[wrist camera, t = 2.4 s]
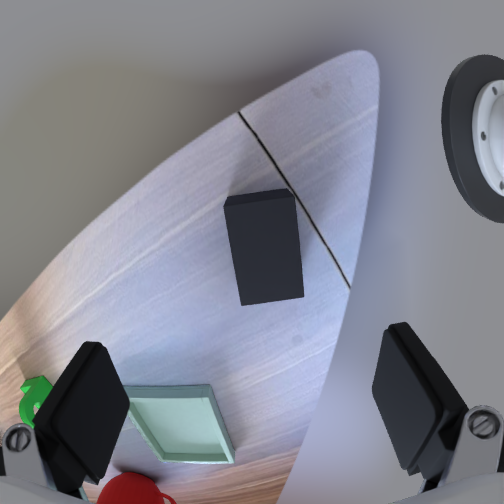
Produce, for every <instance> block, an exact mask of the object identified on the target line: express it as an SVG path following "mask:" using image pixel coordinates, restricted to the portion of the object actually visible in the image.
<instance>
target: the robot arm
mask: <svg viewBox="0 0 504 504" xmlns="http://www.w3.org/2000/svg"><path fill="white" fill-rule="evenodd" d="M472 133H473V143H474V149H475V153H476V157H477V161H478V164H479V167H480V169H481V172H482V174H483V176H484V178H485V179H486V181H487V183H488V184H489V185H490V187H491V188H492V189H493V190H494V191H495V192H496V193H498V194H499V195H501V196H504V80H495V81H491V82H489V83H487V84H486V85H485V86H483V87H482V89H481V90H480V92H479V93H478V95H477V98H476V101H475V104H474V110H473V117H472ZM372 394H373V397H374V399H375V402H376V404H377V406H378V409H379V411H380V414H381V416H382V419H383V421H384V424H385V426H386V429H387V432H388V434H389V437H390V439H391V442H392V444H393V447H394V450H395V452H396V455H397V458H398V460H399V463H400V466H401V468H402V469H403V470H406V469H407V471H408V474H409V476H411V475H413V474H416V473H419V472H421V473H422V476H423V478H424V481H423V483H422V485H421V487H420V490H419V492H418V494H417V495H415V496H413V497H409V498H406V499H403V500H400V501H397V502H393V503H390V504H504V420H503V418H502V416H501V414H500V413H499V412H498V411H497V410H495V409H494V408H492V407H489V406H483V405H480V406H475V407H474V408H472V409H470V410H469V409H468V407H467V405H466V404H465V402H464V401H463V399H462V398H461V396H460V395H459V393H458V392H457V390H456V389H455V387H454V386H453V384H452V383H451V381H450V380H449V378H448V377H447V375H446V374H445V373H444V371H443V370H442V368H441V367H440V365H439V364H438V363H437V361H436V360H435V359H434V357H432V355H431V354H430V352H429V351H428V350H427V348H426V347H425V346H424V344H423V343H422V342H421V340H420V339H419V338H418V336H417V335H416V334H415V332H414V331H413V330H412V328H411V327H410V326H409V324H408V323H406V322H402V323H397V324H391V325H389V327H388V329H386V330H385V331H384V333H383V338H382V344H381V348H380V354H379V358H378V363H377V368H376V372H375V376H374V381H373V385H372ZM129 407H130V400H129V398H128V395H127V393H126V391H125V389H124V387H123V385H122V383H121V381H120V378H119V376H118V374H117V372H116V369H115V367H114V365H113V363H112V360H111V358H110V355H109V353H108V351H107V349H106V347H104V346H103V345H102V344H101V343H100V342H89V341H86V342H84V343H83V344H82V346H81V347H80V348H79V350H78V351H77V353H76V354H75V356H74V357H73V358H72V360H71V361H70V363H69V364H68V366H67V367H66V369H65V370H64V371H63V373H62V374H61V376H60V377H59V379H58V380H57V382H56V383H55V385H54V386H53V388H52V390H51V391H50V393H49V394H48V396H47V397H46V399H45V400H44V402H43V404H42V405H41V407H40V408H39V410H38V412H37V413H36V415H35V416H34V418H33V420H32V422H33V423H34V425H35V426H34V428H32V427H31V426H30V425H28V424H26V423H18V424H15V425H13V426H11V427H10V428H9V429H7V431H6V432H5V433H4V435H3V438H2V446H1V447H0V504H95V503H91V502H89V500H88V498H87V496H86V494H85V491H84V489H83V487H82V484H83V481H85V482H88V483H91V484H95V485H98V484H99V481H100V479H102V478H103V477H104V476H105V473H106V470H107V467H108V464H109V462H110V459H111V456H112V453H113V450H114V448H115V445H116V442H117V439H118V437H119V434H120V431H121V429H122V426H123V423H124V421H125V418H126V416H127V413H128V410H129Z"/></svg>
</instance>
